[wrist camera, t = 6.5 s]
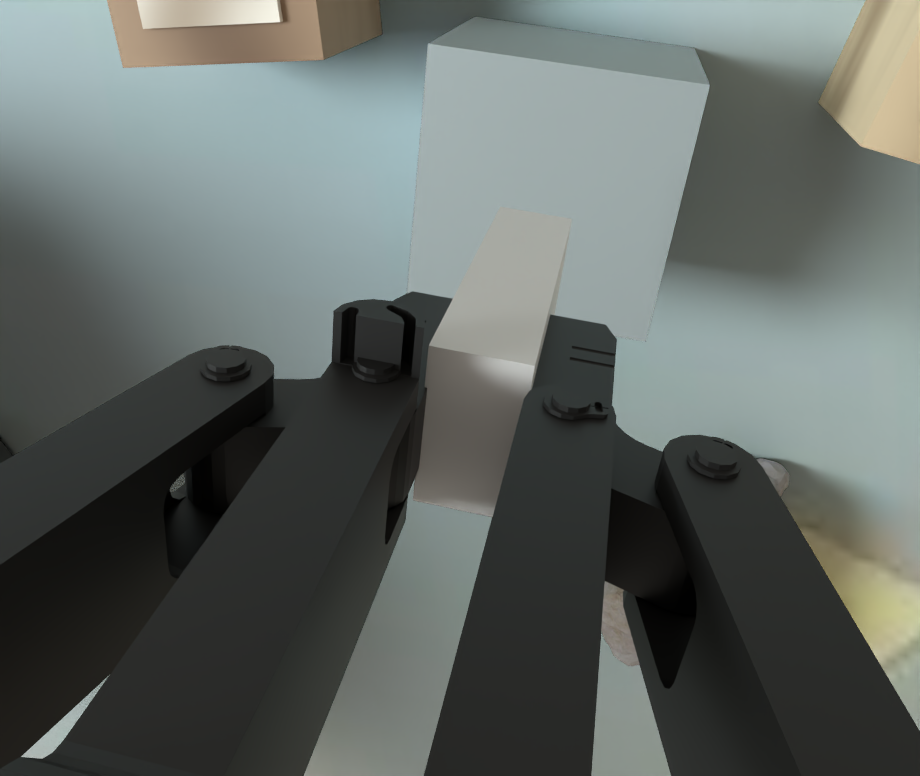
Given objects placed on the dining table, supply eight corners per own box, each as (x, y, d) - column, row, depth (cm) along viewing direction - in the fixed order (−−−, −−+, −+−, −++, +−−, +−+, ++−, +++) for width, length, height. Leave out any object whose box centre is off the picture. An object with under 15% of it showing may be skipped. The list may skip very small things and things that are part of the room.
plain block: (452, 224, 30) (406, 298, 24) (475, 16, 27) (428, 43, 21) (644, 256, 30) (645, 341, 24) (694, 47, 26) (710, 85, 20)
